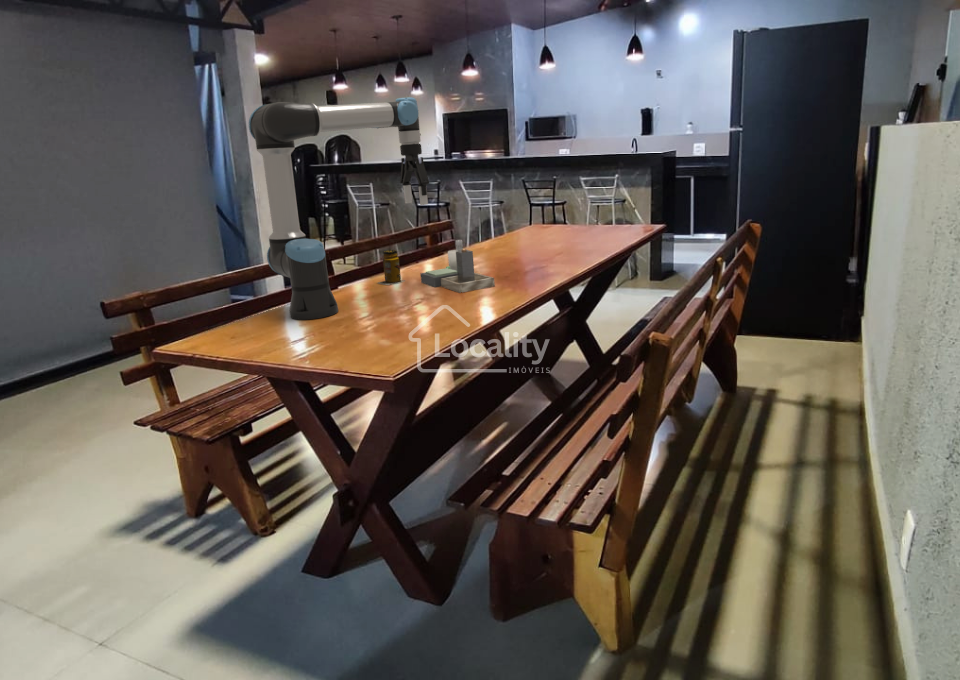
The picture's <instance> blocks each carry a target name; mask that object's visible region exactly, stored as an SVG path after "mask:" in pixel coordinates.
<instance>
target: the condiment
mask: <svg viewBox="0 0 960 680" xmlns="http://www.w3.org/2000/svg"><path fill="white" fill-rule="evenodd" d="M382 254H383V255H382V256H383V259H382V263H383V272H384V279H385V280H383V281H379V282H377V284H380V285H386V286H390V285H395V284H398V283H403V282H405V281H406V280H403V279H402V278H401V277H402V276H401V268H400V258H399V256H398V250H397V249H388V250H384V251H383V252H382Z"/></svg>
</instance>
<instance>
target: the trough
mask: <svg viewBox="0 0 960 680" xmlns="http://www.w3.org/2000/svg"><path fill="white" fill-rule="evenodd" d="M474 276H475V281H471V282H465V283H458V276H453V277H447V278H441V286H440V287H441V288H443V287H444V288H445V289H447V290H450V291H451V292H452V291H453V292H456V293H459V294H460V293H461V292H462V293H466V292H472V291H476V290H481V289H482V290H483V289H487V288H492V287H495V285H496V284H495V277H493V276H489V275H485V274H481V273H477V272H474Z"/></svg>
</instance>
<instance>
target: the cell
mask: <svg viewBox="0 0 960 680" xmlns="http://www.w3.org/2000/svg"><path fill="white" fill-rule="evenodd" d="M461 250H462V251H457V252H456V261H457V273H458V283H465V282H471V281H475V276H474V273H475V265H474V263H475V262H474V251H472V250H469V249H467V248H463V249H461Z"/></svg>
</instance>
